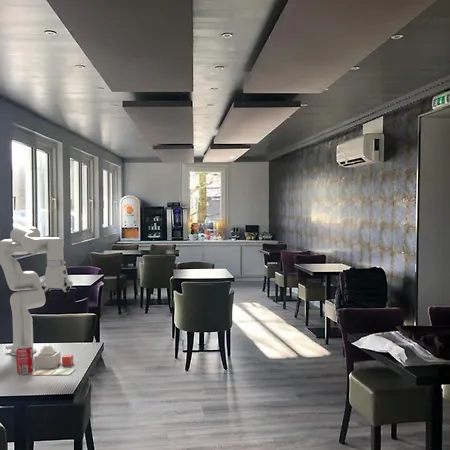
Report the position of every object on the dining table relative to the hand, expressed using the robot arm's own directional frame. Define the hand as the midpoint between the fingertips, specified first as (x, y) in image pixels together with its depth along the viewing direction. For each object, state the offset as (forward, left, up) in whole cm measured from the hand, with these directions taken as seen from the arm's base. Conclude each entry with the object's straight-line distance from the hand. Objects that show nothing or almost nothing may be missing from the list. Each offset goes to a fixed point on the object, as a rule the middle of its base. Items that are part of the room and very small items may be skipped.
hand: (56, 300), depth 252 cm
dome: (-4, -3, -26) cm, 26 cm away
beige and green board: (+3, -15, -30) cm, 34 cm away
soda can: (-10, -15, -30) cm, 35 cm away
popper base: (-4, -3, -30) cm, 30 cm away
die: (+5, -2, -30) cm, 30 cm away
